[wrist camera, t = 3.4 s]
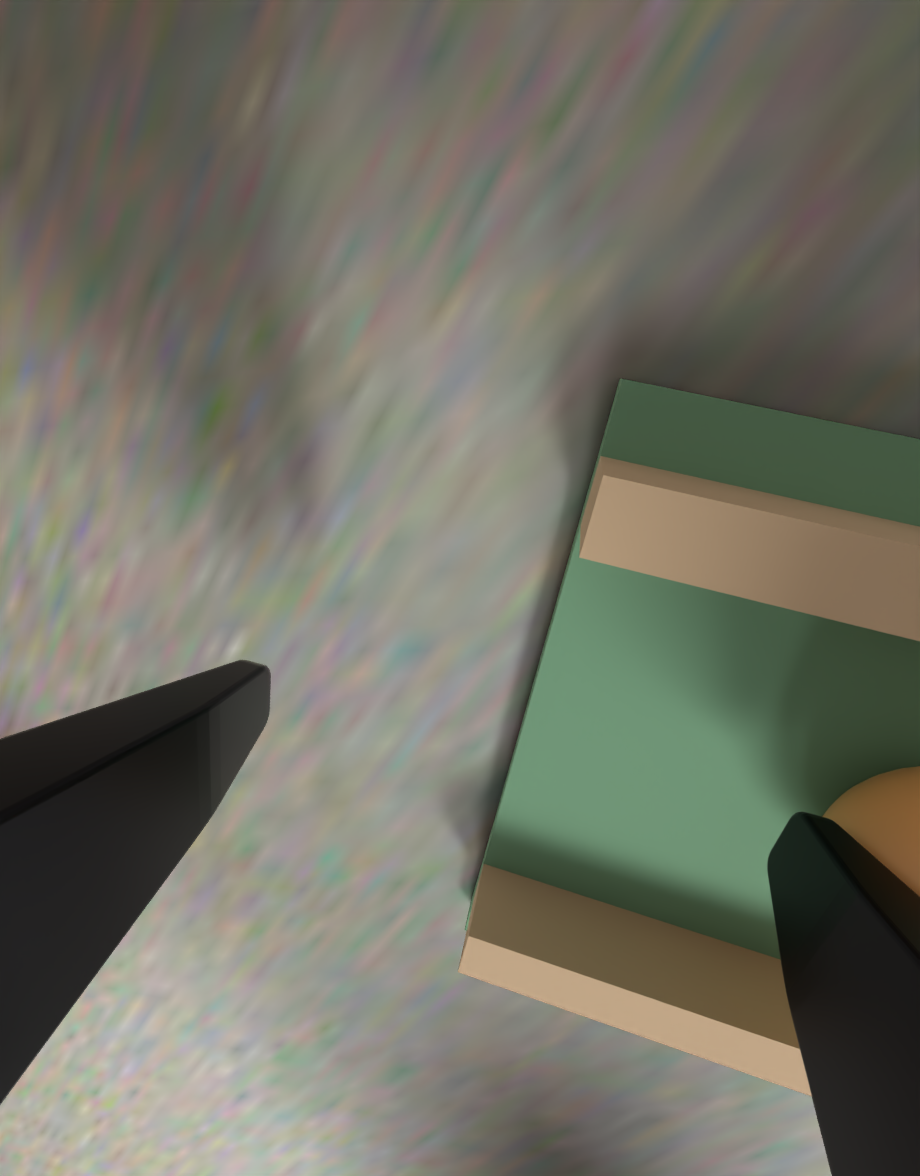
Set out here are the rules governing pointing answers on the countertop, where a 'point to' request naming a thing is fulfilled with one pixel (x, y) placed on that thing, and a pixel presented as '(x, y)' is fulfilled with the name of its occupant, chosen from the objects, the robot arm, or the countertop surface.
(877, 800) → the ball
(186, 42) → the countertop surface
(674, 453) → the track
